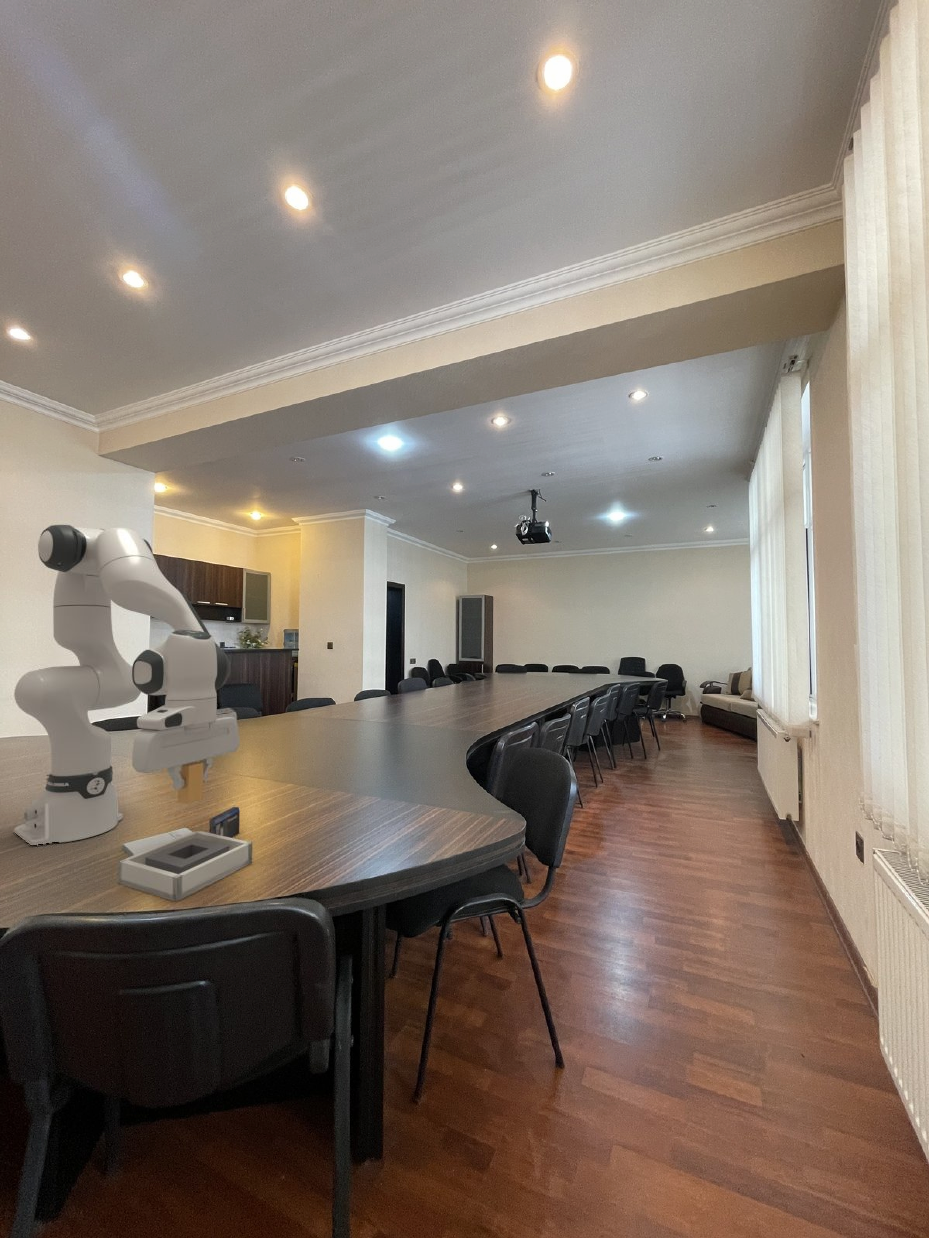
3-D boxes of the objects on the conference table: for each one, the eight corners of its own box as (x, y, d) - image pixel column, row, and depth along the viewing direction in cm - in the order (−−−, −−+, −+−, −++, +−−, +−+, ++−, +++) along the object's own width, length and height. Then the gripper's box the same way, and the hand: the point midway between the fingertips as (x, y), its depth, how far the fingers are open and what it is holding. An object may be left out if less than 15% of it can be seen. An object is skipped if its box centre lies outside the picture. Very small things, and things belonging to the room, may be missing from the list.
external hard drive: (122, 851, 104) (184, 833, 114) (133, 862, 99) (198, 842, 108) (122, 843, 104) (185, 826, 114) (133, 853, 99) (198, 835, 108)
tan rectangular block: (177, 801, 93) (178, 764, 93) (192, 797, 96) (192, 761, 96) (188, 803, 92) (189, 766, 92) (202, 798, 94) (203, 762, 95)
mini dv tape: (215, 847, 105) (215, 819, 105) (209, 847, 105) (209, 819, 105) (239, 833, 113) (239, 806, 113) (233, 832, 113) (233, 806, 113)
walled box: (118, 883, 89) (118, 861, 89) (197, 849, 104) (197, 830, 104) (176, 901, 83) (176, 877, 83) (252, 862, 97) (252, 842, 97)
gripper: (225, 706, 105) (224, 770, 105) (127, 720, 87) (125, 798, 86) (246, 707, 103) (246, 773, 102) (150, 721, 84) (148, 802, 83)
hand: (190, 785), depth 94 cm, fingers closed on tan rectangular block, 3 cm apart
